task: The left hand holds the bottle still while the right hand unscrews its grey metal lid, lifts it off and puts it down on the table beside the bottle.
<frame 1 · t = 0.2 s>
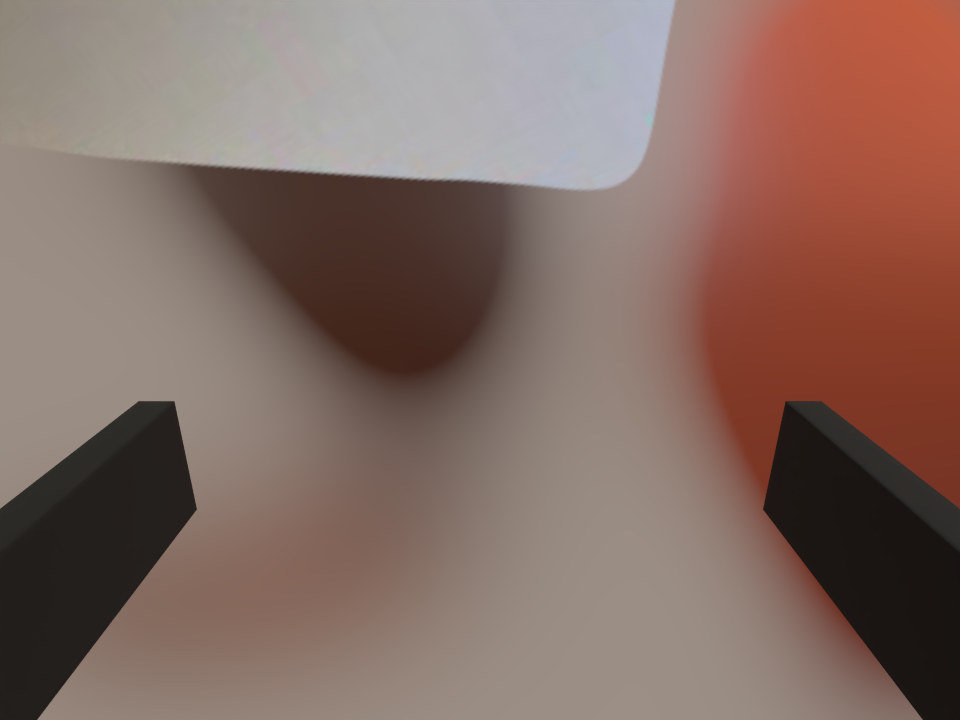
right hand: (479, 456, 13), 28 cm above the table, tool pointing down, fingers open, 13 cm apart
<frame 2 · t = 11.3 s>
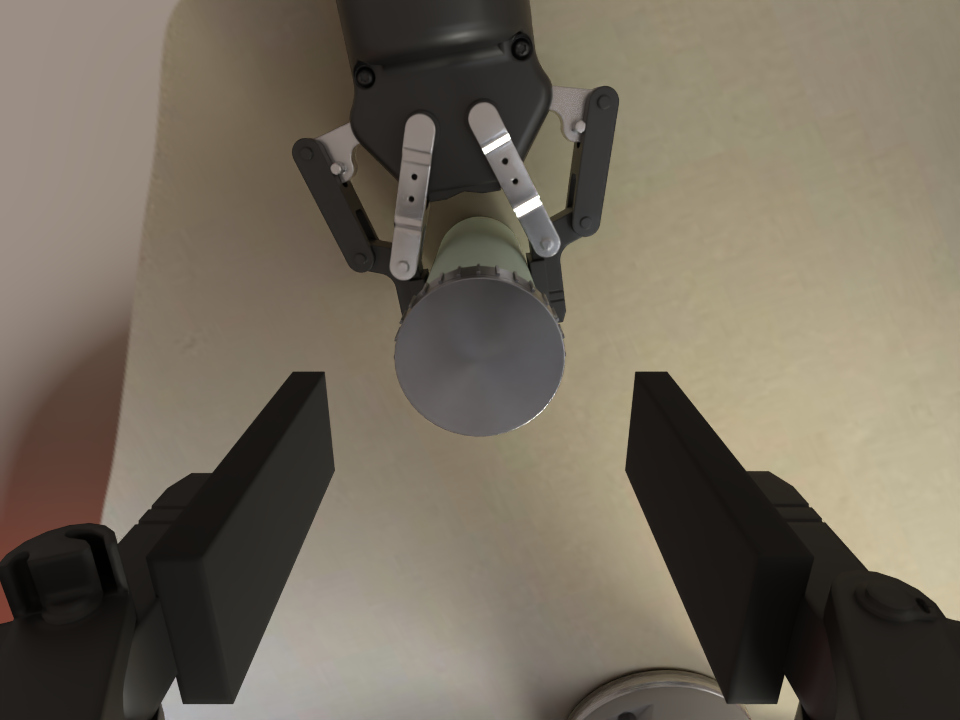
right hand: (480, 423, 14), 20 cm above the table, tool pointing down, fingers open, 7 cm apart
left hand: (489, 338, 28), fingers closed on bottle, 5 cm apart
lid: (479, 357, 18), point 16 cm above the table, screwed on, not yet turned
bottle: (480, 259, 33), on the table, touching left hand
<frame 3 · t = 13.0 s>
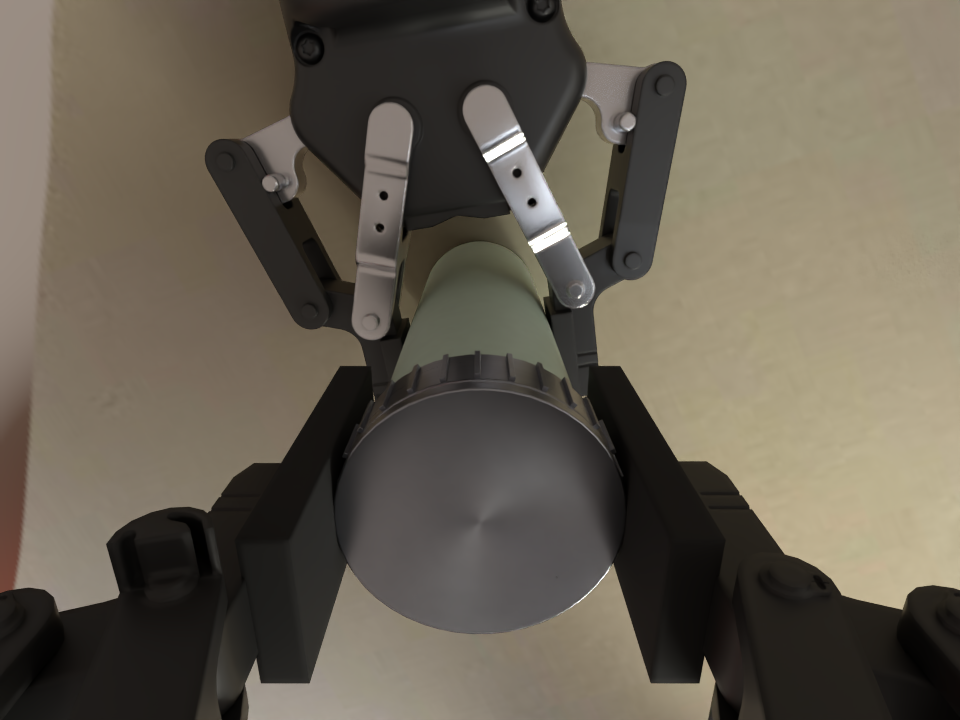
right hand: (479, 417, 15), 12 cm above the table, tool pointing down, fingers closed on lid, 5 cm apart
left hand: (492, 413, 21), fingers closed on bottle, 5 cm apart
lid: (480, 511, 11), point 16 cm above the table, screwed on, not yet turned, touching right hand
bottle: (480, 295, 26), on the table, touching left hand
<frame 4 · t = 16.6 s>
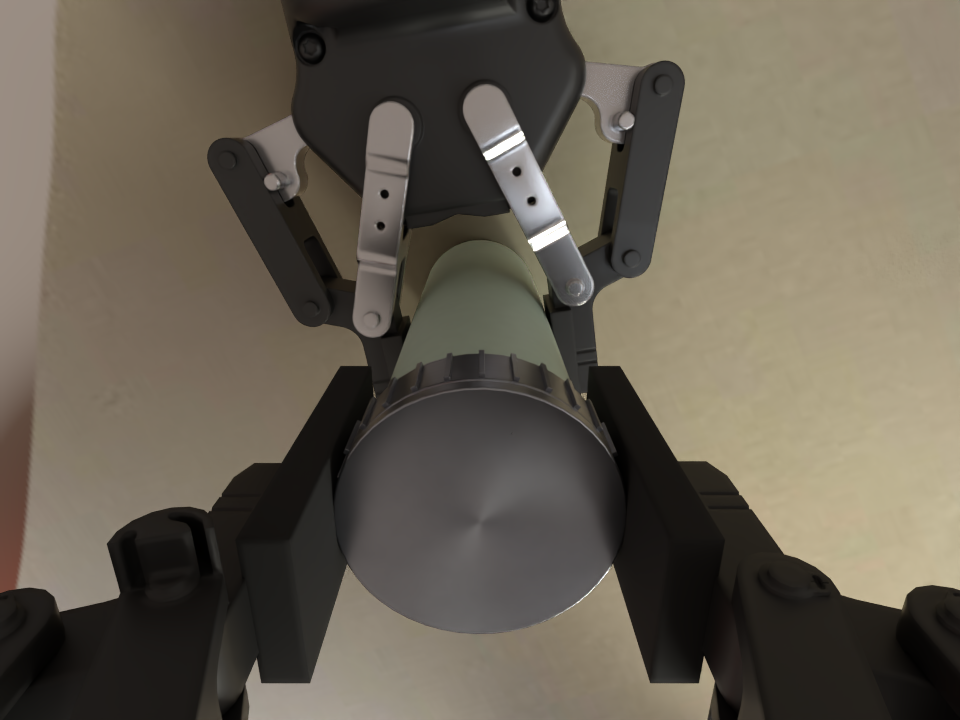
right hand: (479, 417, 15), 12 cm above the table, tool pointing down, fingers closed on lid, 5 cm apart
left hand: (492, 410, 21), fingers closed on bottle, 5 cm apart
lid: (480, 510, 11), point 16 cm above the table, turned 114° so far, risen 0.2 cm, still on its thread, touching right hand
bottle: (480, 294, 26), on the table, touching left hand
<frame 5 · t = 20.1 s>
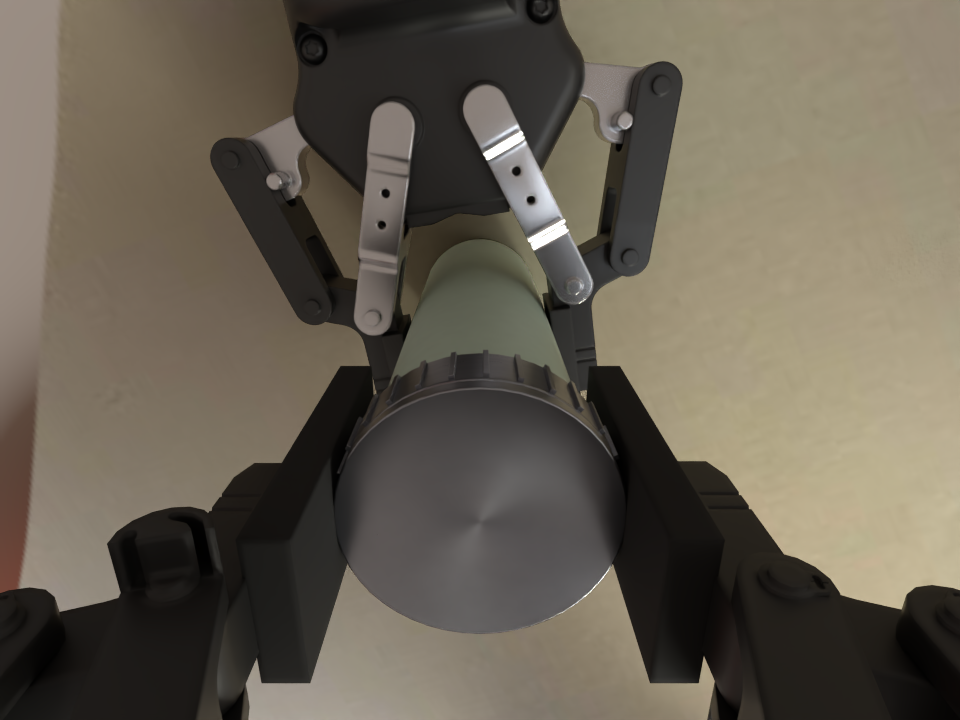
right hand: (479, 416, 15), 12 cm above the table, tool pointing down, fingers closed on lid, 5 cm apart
left hand: (492, 408, 21), fingers closed on bottle, 5 cm apart
lid: (480, 510, 11), point 16 cm above the table, turned 228° so far, risen 0.4 cm, still on its thread, touching right hand
bottle: (480, 293, 26), on the table, touching left hand
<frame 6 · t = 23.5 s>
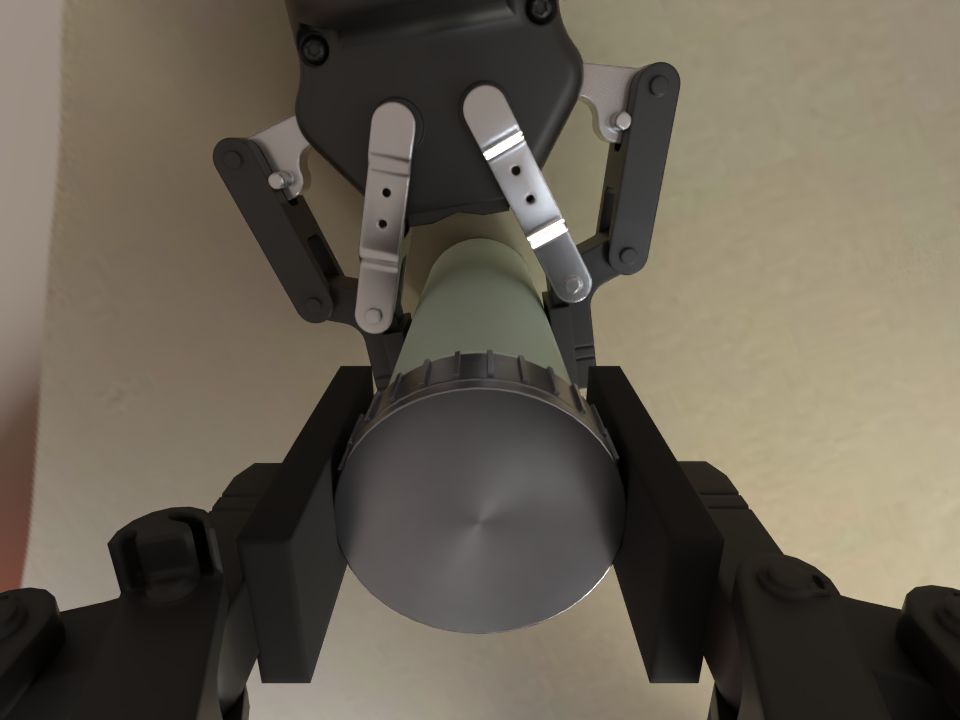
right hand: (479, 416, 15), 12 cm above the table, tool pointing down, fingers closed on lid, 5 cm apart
left hand: (492, 405, 21), fingers closed on bottle, 5 cm apart
lid: (480, 510, 11), point 16 cm above the table, turned 342° so far, risen 0.5 cm, still on its thread, touching right hand
bottle: (480, 292, 26), on the table, touching left hand
when the right hand's fingers open (0 cm above the table, at t = 30.0 s): lid drops 2 cm, point 1 cm above the table.
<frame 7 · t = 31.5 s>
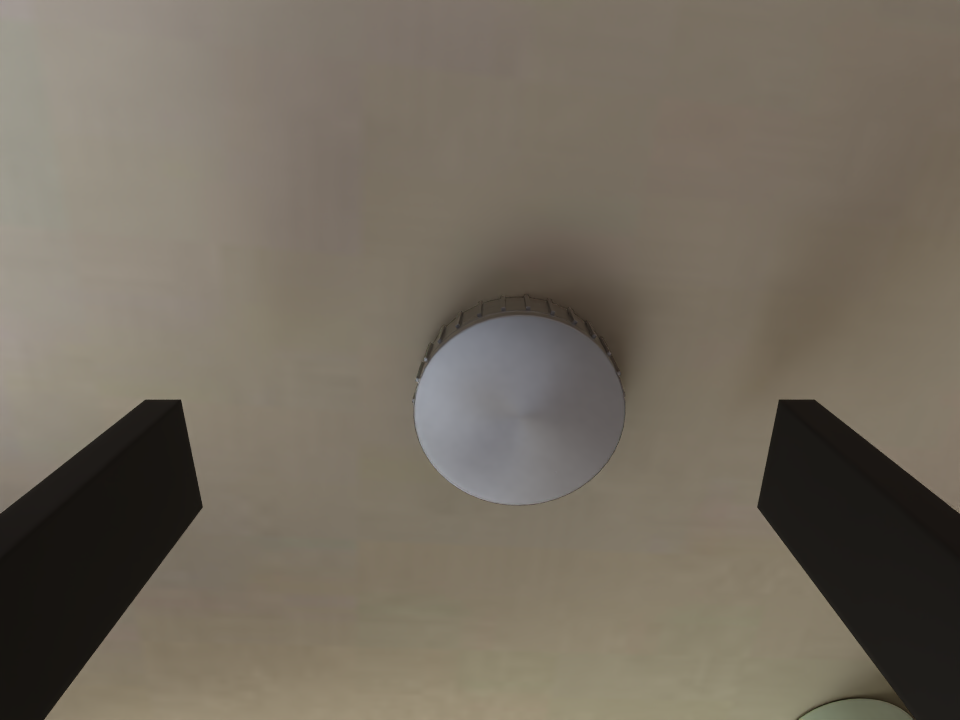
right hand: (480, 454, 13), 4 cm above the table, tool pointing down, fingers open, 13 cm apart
lid: (518, 410, 15), point 1 cm above the table, off its thread
when the left hand's fingers open (6 cm above the table, at t = 31.9 s): bottle stays where it is, on the table.
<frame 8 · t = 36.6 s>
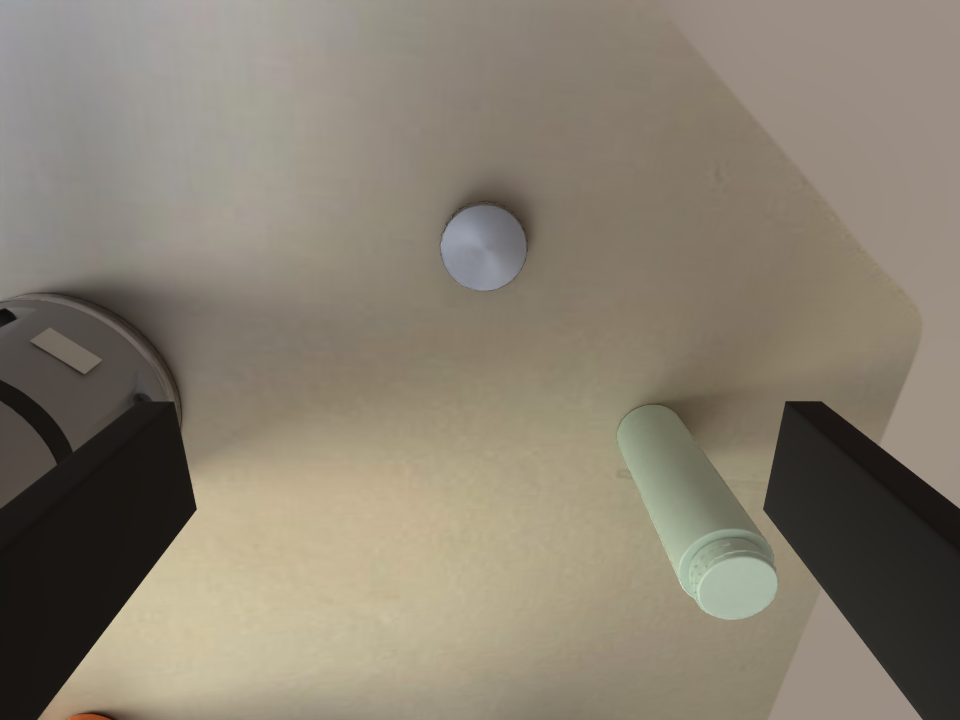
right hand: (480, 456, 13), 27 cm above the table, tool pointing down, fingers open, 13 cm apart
lid: (483, 248, 36), point 1 cm above the table, off its thread
bottle: (649, 433, 43), on the table
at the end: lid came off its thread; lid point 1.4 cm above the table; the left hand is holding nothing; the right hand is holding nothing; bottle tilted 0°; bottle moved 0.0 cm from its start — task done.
